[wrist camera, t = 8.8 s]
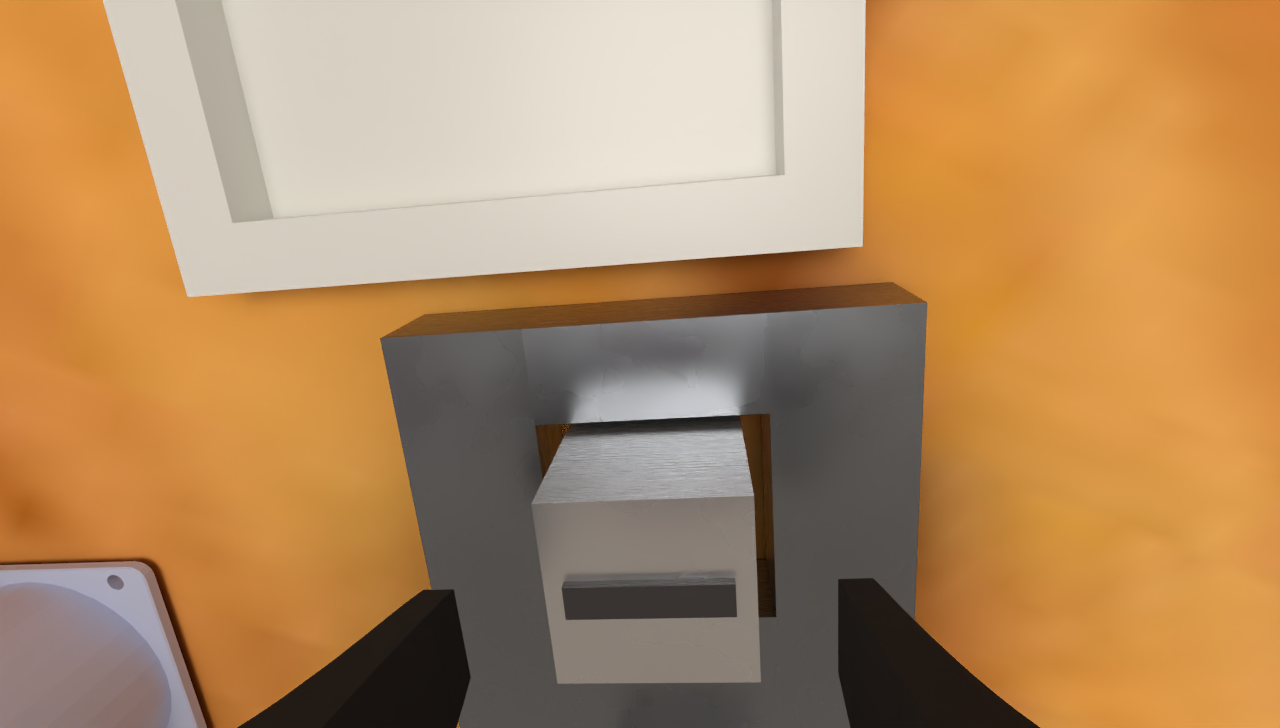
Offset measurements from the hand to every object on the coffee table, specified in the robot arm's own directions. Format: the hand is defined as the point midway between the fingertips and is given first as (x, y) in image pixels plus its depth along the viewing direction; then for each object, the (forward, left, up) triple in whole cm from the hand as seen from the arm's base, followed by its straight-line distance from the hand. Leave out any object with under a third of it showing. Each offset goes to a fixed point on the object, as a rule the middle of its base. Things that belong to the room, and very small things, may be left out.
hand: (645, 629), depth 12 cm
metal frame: (0, -5, -6) cm, 8 cm away
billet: (0, +1, -6) cm, 6 cm away
